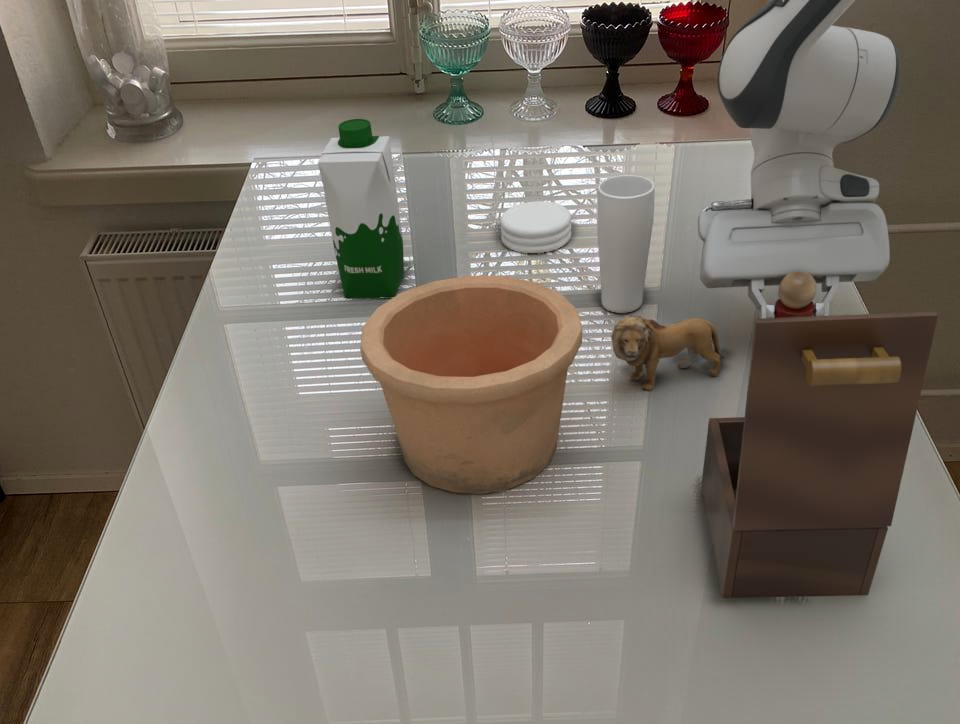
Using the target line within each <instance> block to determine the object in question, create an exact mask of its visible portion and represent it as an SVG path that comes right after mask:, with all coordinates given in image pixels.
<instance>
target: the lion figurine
mask: <svg viewBox="0 0 960 724" xmlns="http://www.w3.org/2000/svg"><path fill="white" fill-rule="evenodd" d="M610 339H611V342H612V351H613V353H614V355H615V357H616V358H617V359H619V360H622V361H625V362H626V364H628V365H629V366H630V367H634V371H633V372H631V373H630V375H629V379H630V380H631V381H638V380H639V379H640V378H641V377H642V374H643V372H644V367H645V372H646V378H645V382H644V383H643V384H642V389H643V390H644V391H649V392H650V391H652V390H653V389H654V387H655V385H656V371H657V368H658V367H657V366H658V364H659V362H660V359H668V358H671V357H675V356H677V355H679V354H681V353H682V352H684V351H685V350H686V351H687V356H686V358H685V359H684V360H679V361H678V362H677V367H678V368H680V369H686V368H688V367H689V366H690V365H691V364H692V362H693V361H694V360H695V359H696V358H697V357H698V356H699V357H700V358H701V359H703V360H706V361H707V362H709V363H711V364H712V365H713V367H711V368H709V369H708V372H707V374H708V376H711V377H717V376H719V375H720V373H721V361H723V360H725V356H724V355H723V354H721V353H720V340H719V335H718V332H717V329H716V328H715V326H714V325H713V323H711V322H710V321H708V320H706V319H702V318H697V317H690V318H687V319H684V320H681V321H679V322H676V323H671V324H667V325H661V324H660V323H658V321H656V320H654V319H650V318H645V317H642V316H641V315H638V316H637V315H629V316H625V317H622V318H620V319H619V320H618V321H617V323H615V324H614V326H613V329H612V332H611V336H610Z"/></svg>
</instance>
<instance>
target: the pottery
mask: <svg viewBox="0 0 960 724" xmlns="http://www.w3.org/2000/svg"><path fill="white" fill-rule="evenodd" d="M360 338H361V339H360V348H359V350H360V355H361V360H362V361H363V363H364V365H365V367H366V369H368V371H369V373H370V375H371V377H372V378H373V379H374V380H375V381H376V382H378V383H379V384H380V386H381V390H382V393H383V396H384V399H385V402H386V405H387V409H388V411H389V415H390V418H391V420H392V425H393V427H394V430H395V434H396V437H397V439H398V440H397V441H398V443H399V445H400V449H401V452H402V455H403V460H404V462H405V464H406V465H407V467H408V469H409V470H410V472H411V473H412V475H413V476H415V477H417V478H418V479H420V480H421V481H423V482H424V483H426V484H427V485H429V486H430V487H433V488H437V489H440V490H444V491H447V492H450V493H451V492H452V493H455V494H472V495H473V494H474V495H475V494H476V495H486V494H489V493H495V492H501V491H505V490H511V489H512V488H515V487H517V486H519V485H521V484H523V483H526V482H529V481H531V480H533V479H535V477H536V476H538V475H539V474H540V473H541V472H542V471H543V470H544V469H546V468H547V467H548V466H549V465H550V464H551V462H552V460H553V457H554V455H555V453H556V451H557V448H558V439H559V431H560V425H561V419H562V418H561V417H562V412H563V404H564V400H565V399H564V397H565V391H566V385H567V377H568V371H569V367H571V366H572V364H573V362H574V360H575V358H576V356H577V354H578V352H579V350H580V348H581V346H582V343H583V328H582V322H581V318H580V314H579V309H577V308H576V307H575V306H574V305H573V303H571V302H570V301H569V300H568V299H567V298H566V297H565V296H564V295H563V294H562V293H561V292H558V291H556V290H554V289H552V288H550V287H547V286H545V285H543V284H540V283H538V282H536V281H532V280H526V279H520V278H516V277H510V276H505V275H465V276H458V277H452V278H447V279H440V280H435V281H430V282H428V283H427V282H426V283H425V284H422V285H418V286H416V287H413V288H411V289H408V290H405V291H402V292H400V293H399V294H396V296H395V297H394V298H390V299H389V300H388V301H386V302H384V303H383V304H382V305H380V306H378V307H377V308H376V309H375V310H374V311H373V313H372V314H371V315H370V317H369V318H368V319H367V320H366V322H365V324H364V325H363V326H362V328H361V337H360Z"/></svg>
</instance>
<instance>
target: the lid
mask: <svg viewBox="0 0 960 724" xmlns="http://www.w3.org/2000/svg"><path fill="white" fill-rule="evenodd" d="M938 318H939V314H938V313H937V312H936V311H933V310H932V311H914V312H912V311H911V312H889V313H888V312H887V313H885V312H884V313H865V314H864V313H863V314H862V313H861V314H860V313H859V314H840V315H839V314H838V315H829V316H812V317H787V318H763V319H758V318H755V321H754V327H753V328H754V329H753V337H752V346H751V355H750V364H749V374H748V382H747V383H748V384H747V392H746V400H745V401H746V402H745V409H744V410H745V411H744V417H745V418H744V427H743V436H742V445H741V454H740V463H739V472H738V482H737V491H736V500H735V509H734V518H733V528H734V530H762V529H802V528H842V527H882V526H887V527H892V523H893V520H894V515H895V510H896V505H897V501H898V497H899V492H900V489H901V484H902V479H903V475H904V470H905V466H906V461H907V456H908V452H909V449H910V443H911V439H912V435H913V430H914V426H915V422H916V418H917V417H916V416H917V412H918V409H919V408H918V407H919V403H920V400H921V399H920V398H921V394H922V390H923V386H924V380H925V376H926V372H927V368H928V363H929V358H930V354H931V349H932V345H933V340H934V336H935V332H936V327H937V322H938Z"/></svg>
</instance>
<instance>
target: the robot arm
mask: <svg viewBox="0 0 960 724" xmlns="http://www.w3.org/2000/svg"><path fill="white" fill-rule="evenodd" d="M855 1H856V0H770V1H768V2H767V3H766V4H765V5H764V6H763V7H762V8H760V9H759V10H758V11H757V12H755V13H754V14H753V15H751V17H749V18H748V19H747V20H746V21H745V22H744V23H743V24H742V25H741V26H740V27H739V28H738V29H737V31H736V32H735V33H734V34H733V35H732V37H731V38H730V40H729V41H728V43H727V45H726V47H725V49H724V51H723V53H722V56H721V59H720V63H719V67H718V71H717V90H718V94H719V97H720V100H721V103H722V105H723V107H724V109H725V111H726V112H727V113H728V115H729V117H730V118H731V119H732V121H733V122H734V123H735V124H736V125H737V126H738V128H741V129H749V130H750V131H749V132H750V133H749V134H750V135H749V136H750V143H751V145H752V148H753V163H752V166H751V170H750V199H736V200H731V201H729V200H728V201H724V200H716V201H712V202H711V204H710V205H707V206H705V207H704V208H702V209H701V211H700V212H699V215H698V218H697V233H698V237H699V239H701V241H702V242H703V245H702V250H701V258H700V270H699V277H700V279H699V280H700V282H701V283H702V284H703V285H704V286H705V288H707V289H722V288H725V289H726V288H743V287H744V288H745V287H746V288H747V296H748V298H749V300H750V301H751V303H752V304H753V306H754V307H755V309H756V310H757V311H758V315H757V317H758V318H757V319H763V318H775V314H774V311H775V304H768V303H767V301H766V300H765V298H764V296H763V294H762V292H763V291H764V289H765V286H766V287H767V286H770V287H771V286H779V285H780V283H781V281H782V280H783V278H784V277H785V276H786V275H788V274H789V273H791V272H794V271H805V272H807V273H809V274H810V275H812V277H813V278H814V280H815V282H816V284H821V292H822V293H825V295H824V296H823V298H822V301H821V302H815V303H814V311H813V316H830V303H831V301H832V300H833V299H834V296H835V294H836V293H837V291H838V289H839V287H840V283H854V282H873V281H876V280H877V279H878V278H879V277H880V276H881V275H882V274H883V273H884V272H885V271H886V270H887V268H888V266H889V264H890V261H891V260H890V258H891V257H890V255H891V253H890V251H891V249H890V239H889V238H890V237H889V230H888V222H887V219H886V215H885V213H884V211H883V209H882V207H880V206H879V205H878V204H876V201H877V199H878V197H879V194H880V183H879V182H878V180H876V178H872V177H869V176H865V175H862V174H861V175H860V174H857V173H854V172H851V171H847V170H845V169H842V168H841V169H840V168H838V167H835V166H834V165H835V164H834V159H833V152H834V149H835V148H836V147H837V146H838V145H840V144H847V143H849V142H852V141H854V140H857V139H858V138H861V137H862V136H864V135H866V134H868V133H869V132H870V131H872V130H874V129H875V128H876V127H877V126H878V125H880V124H881V123H882V122H883V121H884V120H885V119H886V117H888V115H889V114H890V112H891V111H892V109H893V107H894V106H895V104H896V101H897V98H898V95H899V91H900V85H901V60H900V54H899V52H898V51H899V50H898V49H897V46H896V44H895V43H894V41H893V39H892V38H890V37H889V36H887V35H883V34H881V33H877V32H874V31H869V30H864V29H859V28H853V27H848V26H837V25H834V24H835V22H837V21H838V19H840V17H841V16H842V15H843V14H844V13H846V11H847V10H848V9H849V8H850V7H851V6H852V5H853V4H854V2H855Z"/></svg>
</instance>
